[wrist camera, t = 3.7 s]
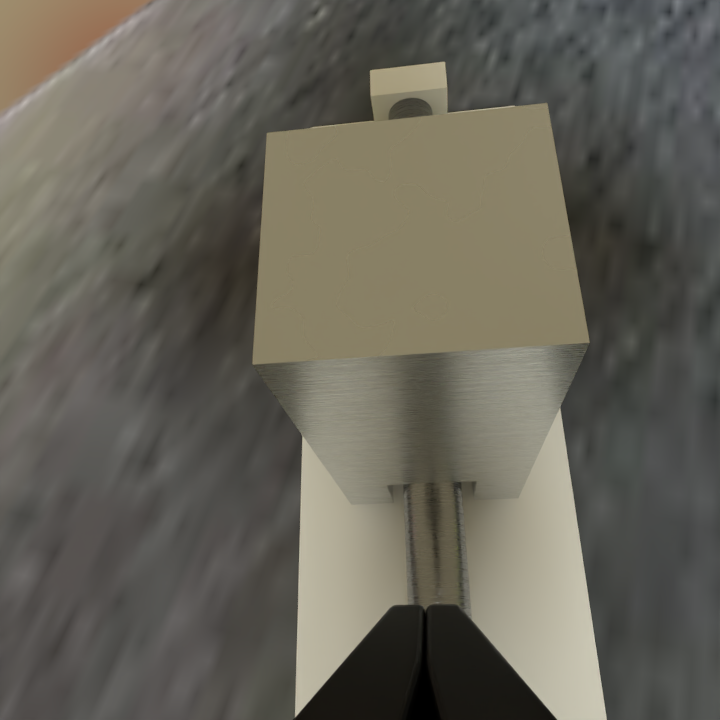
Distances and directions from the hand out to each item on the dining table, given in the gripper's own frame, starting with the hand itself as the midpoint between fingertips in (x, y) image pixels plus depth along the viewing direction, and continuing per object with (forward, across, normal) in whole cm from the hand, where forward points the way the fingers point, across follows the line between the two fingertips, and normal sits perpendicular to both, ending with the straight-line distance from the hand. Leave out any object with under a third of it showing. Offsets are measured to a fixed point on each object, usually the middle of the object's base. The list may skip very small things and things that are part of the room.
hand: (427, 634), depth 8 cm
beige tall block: (+14, 0, -4) cm, 15 cm away
